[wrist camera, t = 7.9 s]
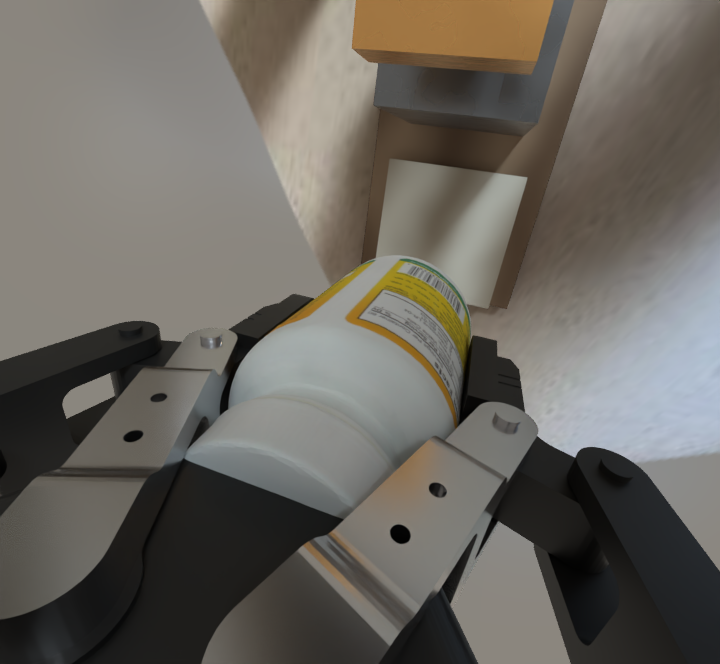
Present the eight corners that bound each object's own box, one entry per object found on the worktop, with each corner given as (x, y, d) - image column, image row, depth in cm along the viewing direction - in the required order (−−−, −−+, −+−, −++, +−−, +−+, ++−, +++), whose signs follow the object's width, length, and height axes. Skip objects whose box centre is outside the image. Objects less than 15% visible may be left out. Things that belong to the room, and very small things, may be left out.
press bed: (615, -35, 22) (628, -56, 20) (506, 303, 32) (507, 313, 30) (404, -38, 25) (396, -57, 23) (364, 272, 35) (356, 279, 33)
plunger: (552, -25, 19) (624, -256, 8) (515, 110, 22) (537, 61, 11) (436, -28, 20) (376, -228, 10) (415, 100, 23) (351, 48, 13)
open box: (565, -14, 22) (611, -128, 13) (523, 136, 26) (538, 122, 17) (433, -17, 24) (399, -119, 15) (411, 123, 28) (373, 105, 19)
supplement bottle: (473, 250, 12) (440, 429, 4) (469, 387, 14) (442, 694, 6) (325, 254, 14) (87, 386, 6) (341, 376, 16) (182, 605, 8)
